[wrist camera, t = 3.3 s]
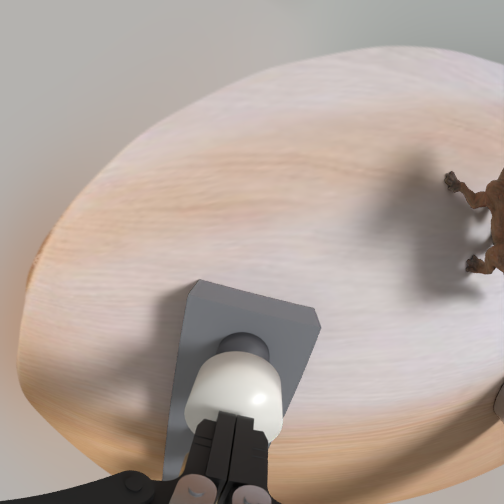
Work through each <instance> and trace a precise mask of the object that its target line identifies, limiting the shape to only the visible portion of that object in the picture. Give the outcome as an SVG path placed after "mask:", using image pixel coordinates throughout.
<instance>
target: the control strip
mask: <svg viewBox="0 0 504 504" xmlns="http://www.w3.org/2000/svg"><path fill="white" fill-rule="evenodd" d="M320 330H321V325H320V323H319V320H318V317H317V314H316V312H315V309H314V308H311V307H307V306H302V305H298V304H294V303H290V302H286V301H282V300H278V299H273V298H269V297H265V296H261V295H257V294H253V293H250V292H246V291H242V290H238V289H234V288H230V287H226V286H223V285H219V284H215V283H211V282H208V281H204V280H200V279H199V281H198V282H197V283H196V285H195V286H194V287H193V289H192V290H191V291H190V293H189V294H188V298H187V303H186V309H185V314H184V320H183V326H182V332H181V338H180V344H179V350H178V356H177V362H176V369H175V376H174V383H173V390H172V397H171V405H170V412H169V420H168V429H167V438H166V447H165V457H164V467H163V479H162V481H170V480H174V479H176V478H178V477H179V474H180V471H181V467H182V464H183V461H184V458H185V455H186V454H187V453H189V451H190V448H191V445H192V441H193V438H194V433H193V432H192V431H191V430H190V428H189V427H188V425H187V423H186V420H185V415H184V412H185V407H186V404H187V401H188V398H189V396H190V393H191V391H192V388H193V385H194V383H195V380H196V377H197V375H198V372H199V370H200V368H201V366H202V365H203V364H204V363H205V362H206V361H207V360H208V359H210V358H211V357H213V356H215V355H218V354H220V353H224V352H231V351H239V352H247V353H251V354H254V355H257V356H259V357H261V358H263V359H265V360H266V361H267V362H269V363H270V364H271V365H272V366H273V367H274V368H275V369H276V371H277V373H278V374H279V377H280V380H281V393H282V415H283V417H284V415H285V413H286V411H287V409H288V407H289V404H290V402H291V400H292V398H293V395H294V393H295V391H296V389H297V386H298V384H299V382H300V379H301V377H302V375H303V372H304V370H305V368H306V365H307V363H308V360H309V358H310V355H311V353H312V350H313V348H314V345H315V343H316V340H317V337H318V335H319V332H320ZM270 444H271V442H270V443H268V448H269V446H270Z"/></svg>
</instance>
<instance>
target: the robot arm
mask: <svg viewBox="0 0 504 504" xmlns="http://www.w3.org/2000/svg"><path fill="white" fill-rule="evenodd" d="M494 412H495V413H496V415H497V416H498V417H499V418H500V419H501V421H502V422H503V423H504V385H503V386H502V388H501V390H500V392H499V394H498V396H497V398H496V401H495V404H494ZM253 429H254V418H251V417H246V416H241V415H237V416H236V414H232V413H228V412H223V411H219V413H218V416H217V420H216V421H212V420H208V419H203V420H202V421H201V422H200V423H199V424H198V425H197V428H196V431H195V434H194V438H193V441H192V445H191V448H190V451H189V455H188V458H187V462H186V465H185V469H184V471H183V473H182V474H181V475H180V476H179V477H178V478H176V479H174V480H170V481H156V480H150V478H149V477H147V476H146V475H145V474H143V473H140V472H138V471H130V470H129V471H124V472H121V473H118V474H115V475H112V476H109V477H106V478H104V479H100V480H97V481H94V482H90V483H87V484H83V485H80V486H76V487H73V488H69V489H65V490H61V491H57V492H52V493H48V494H43V495H38V496H32V497H27V498H21V499H14V500H6V501H0V504H216V502H217V504H281V503H279V502H277V501H276V500H275V499H273V498H272V497H271V495H270V494H269V492H268V489H267V475H268V460H267V459H268V440H267V438H266V436H265V434H264V432H263V431H258V430H253ZM217 500H218V501H217Z"/></svg>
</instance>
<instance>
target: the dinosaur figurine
mask: <svg viewBox="0 0 504 504" xmlns="http://www.w3.org/2000/svg"><path fill="white" fill-rule="evenodd" d="M446 176H447V179H445V182H446V184H448V185H449V186H450V187H448V189H449V190H453V192H454V193H455V192H458V191H460V192H462V193H463V194H464V196H465V198H466V200H467V202H468V204H469V205H470V207H471V208H473V209H476V208H479V207H488V208H489V209H490V211H491V214H492V219H491V234H492V240H493V244H494V246H492V247H490V248H489V249H488V250H487V251H486V253H485V262H484V261H482V260H481V259H478V258H477V257H476V256H475V255H473V258H472V260H469V259H468V260H467V264H468V265H469V266H468V267H467V268H466V271H467V272H473V273H482V274H492V272H493V271H494V270H495V268H498V269H499V270H500V271H502V272H503V273H504V168H503V170H502V172H501V174H500V176H499V178H498V180H493V181H491V182H490V183H489V184H488V185H487V187H486V191H485V192H484V191H483V192H478V193H476V194H475V193H474V192H473V191H471V190H470V189H468V187H467V186H466V184H465V183H464V182H460V181H459V180H458V179H457V178H456V176H455V174H454V172H453V171H451V172H450V174H448V173H447V174H446Z"/></svg>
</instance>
